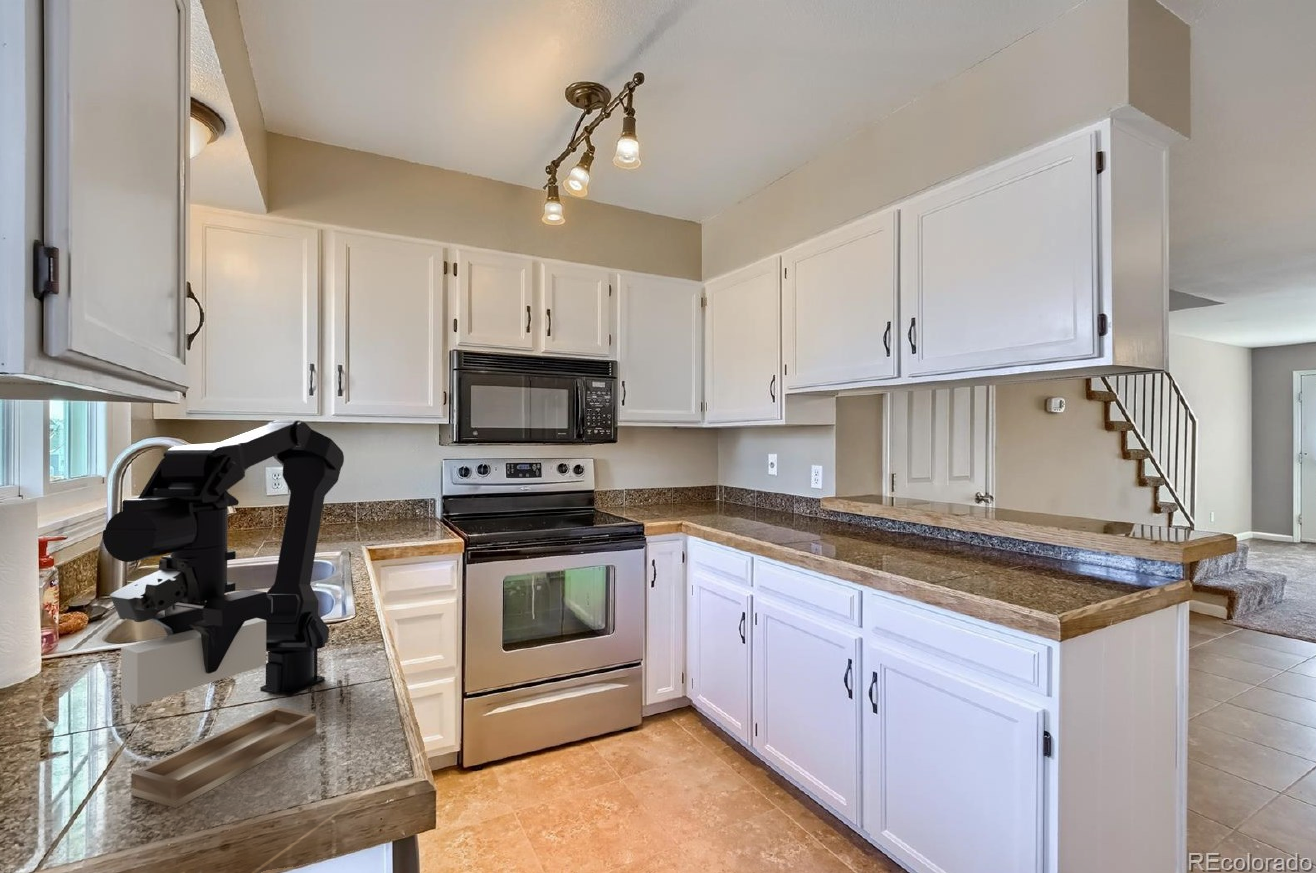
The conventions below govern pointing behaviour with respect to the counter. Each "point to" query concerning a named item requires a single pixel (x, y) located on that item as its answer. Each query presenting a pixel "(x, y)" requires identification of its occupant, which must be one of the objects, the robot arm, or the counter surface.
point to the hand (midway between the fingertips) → (198, 669)
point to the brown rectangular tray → (221, 757)
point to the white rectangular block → (185, 662)
